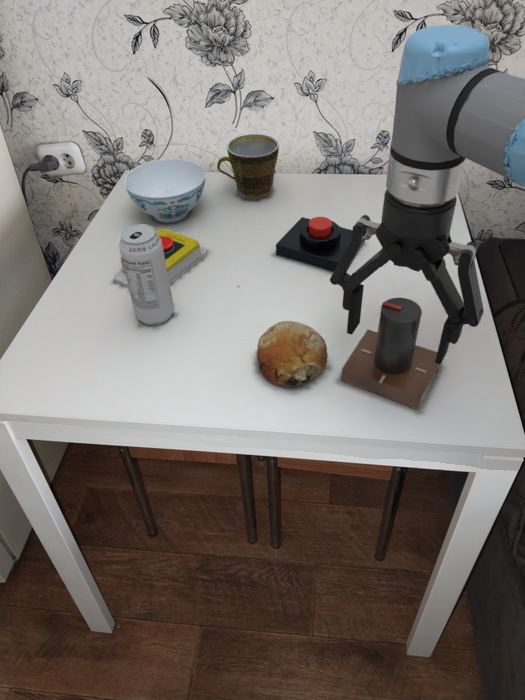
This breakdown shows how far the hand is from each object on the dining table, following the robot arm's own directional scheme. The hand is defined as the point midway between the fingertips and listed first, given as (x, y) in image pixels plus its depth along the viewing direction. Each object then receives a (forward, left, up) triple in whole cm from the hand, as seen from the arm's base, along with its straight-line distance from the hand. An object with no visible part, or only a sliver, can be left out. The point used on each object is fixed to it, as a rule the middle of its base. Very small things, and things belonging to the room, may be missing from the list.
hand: (395, 342), depth 78 cm
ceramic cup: (+43, -34, -6) cm, 55 cm away
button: (+22, -23, -2) cm, 32 cm away
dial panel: (0, 0, -6) cm, 6 cm away
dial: (0, 0, -3) cm, 3 cm away
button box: (+22, -23, -6) cm, 32 cm away
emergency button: (+44, -6, -6) cm, 45 cm away
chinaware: (+53, -21, -6) cm, 57 cm away
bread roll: (+13, +5, -6) cm, 15 cm away
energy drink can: (+37, +5, -6) cm, 38 cm away
